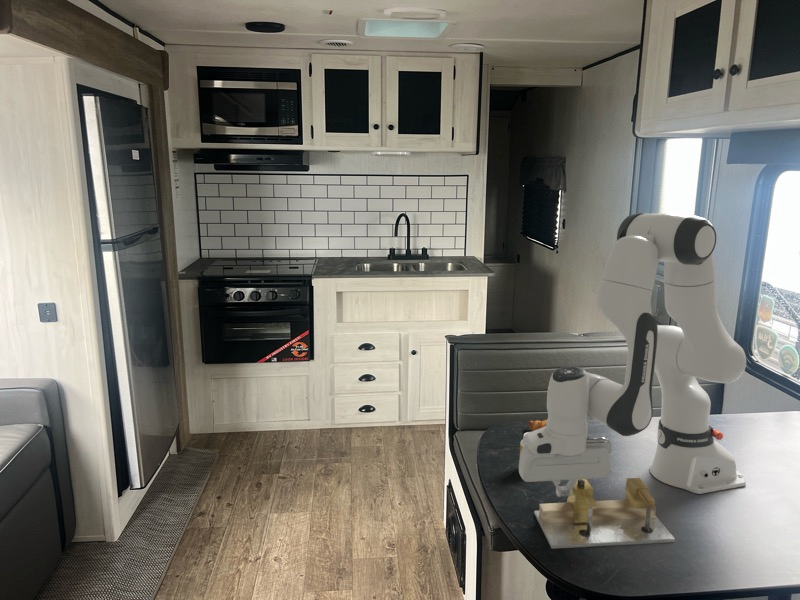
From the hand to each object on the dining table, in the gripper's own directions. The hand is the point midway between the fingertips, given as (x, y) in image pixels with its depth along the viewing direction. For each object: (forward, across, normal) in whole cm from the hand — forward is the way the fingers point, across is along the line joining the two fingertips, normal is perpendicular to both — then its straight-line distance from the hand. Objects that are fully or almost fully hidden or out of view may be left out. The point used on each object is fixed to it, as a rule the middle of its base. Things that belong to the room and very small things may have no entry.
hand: (563, 495), depth 134 cm
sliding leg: (+5, -4, +2) cm, 7 cm away
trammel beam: (+6, -8, +2) cm, 10 cm away
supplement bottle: (+7, +1, -24) cm, 24 cm away
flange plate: (+7, -8, +3) cm, 11 cm away
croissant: (+7, -11, -40) cm, 42 cm away
